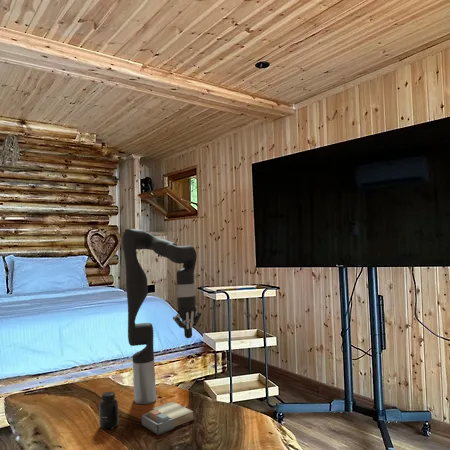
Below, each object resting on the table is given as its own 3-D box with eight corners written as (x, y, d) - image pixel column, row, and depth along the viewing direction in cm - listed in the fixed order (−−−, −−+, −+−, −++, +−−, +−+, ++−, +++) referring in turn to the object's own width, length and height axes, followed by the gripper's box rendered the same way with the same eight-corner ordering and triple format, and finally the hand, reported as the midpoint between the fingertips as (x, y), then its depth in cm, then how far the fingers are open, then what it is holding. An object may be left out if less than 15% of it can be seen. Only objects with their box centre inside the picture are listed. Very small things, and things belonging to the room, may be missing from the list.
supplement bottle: (99, 431, 153) (98, 398, 153) (100, 423, 160) (98, 392, 160) (118, 427, 155) (117, 395, 155) (118, 420, 161) (117, 389, 162)
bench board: (153, 416, 164) (152, 408, 164) (172, 408, 169) (172, 401, 170) (173, 427, 152) (172, 419, 153) (193, 419, 158) (193, 411, 158)
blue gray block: (162, 424, 154) (157, 426, 153) (162, 413, 155) (156, 415, 153) (168, 427, 151) (163, 429, 150) (168, 416, 152) (162, 418, 150)
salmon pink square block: (155, 420, 158) (149, 422, 156) (154, 409, 158) (149, 411, 157) (161, 423, 155) (155, 425, 154) (160, 412, 156) (155, 414, 154)
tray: (141, 424, 156) (141, 415, 157) (157, 418, 161) (157, 409, 161) (157, 434, 147) (157, 424, 147) (174, 428, 152) (173, 418, 152)
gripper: (194, 292, 176) (196, 333, 175) (167, 296, 167) (169, 339, 167) (204, 293, 170) (207, 336, 170) (177, 297, 162) (179, 342, 161)
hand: (188, 337), depth 168 cm, fingers closed
